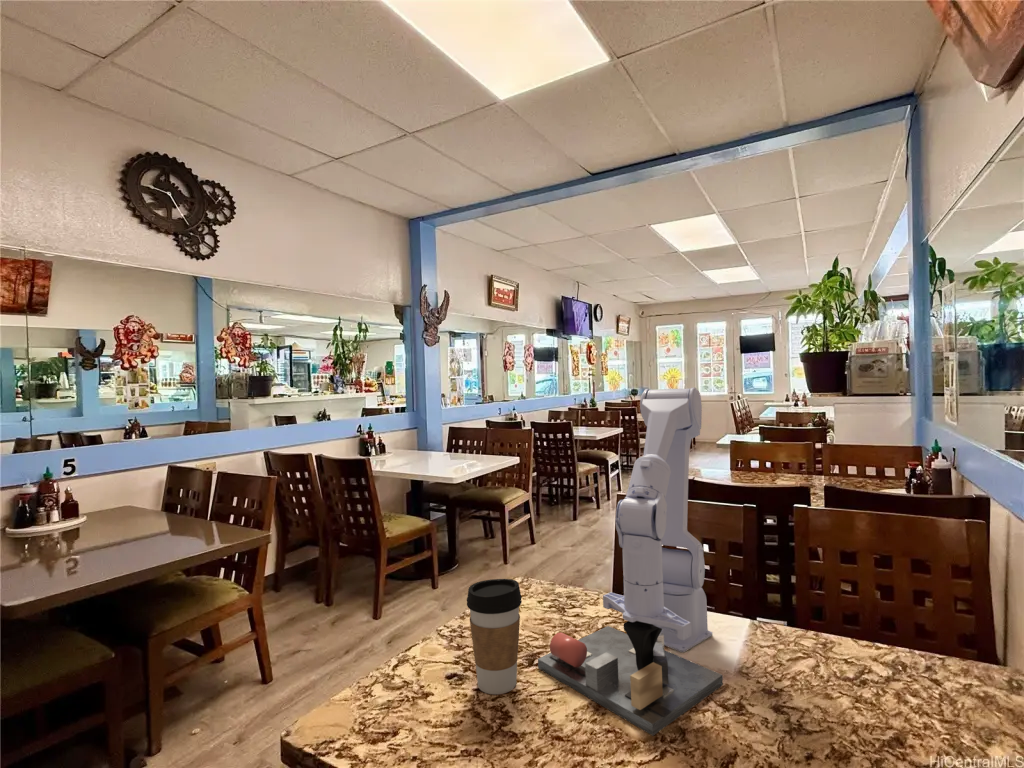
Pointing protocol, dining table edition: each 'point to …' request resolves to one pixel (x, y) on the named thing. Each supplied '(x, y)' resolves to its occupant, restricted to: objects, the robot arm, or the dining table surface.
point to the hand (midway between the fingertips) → (646, 669)
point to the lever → (661, 657)
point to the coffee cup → (495, 633)
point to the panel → (611, 682)
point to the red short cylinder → (568, 649)
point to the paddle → (646, 685)
